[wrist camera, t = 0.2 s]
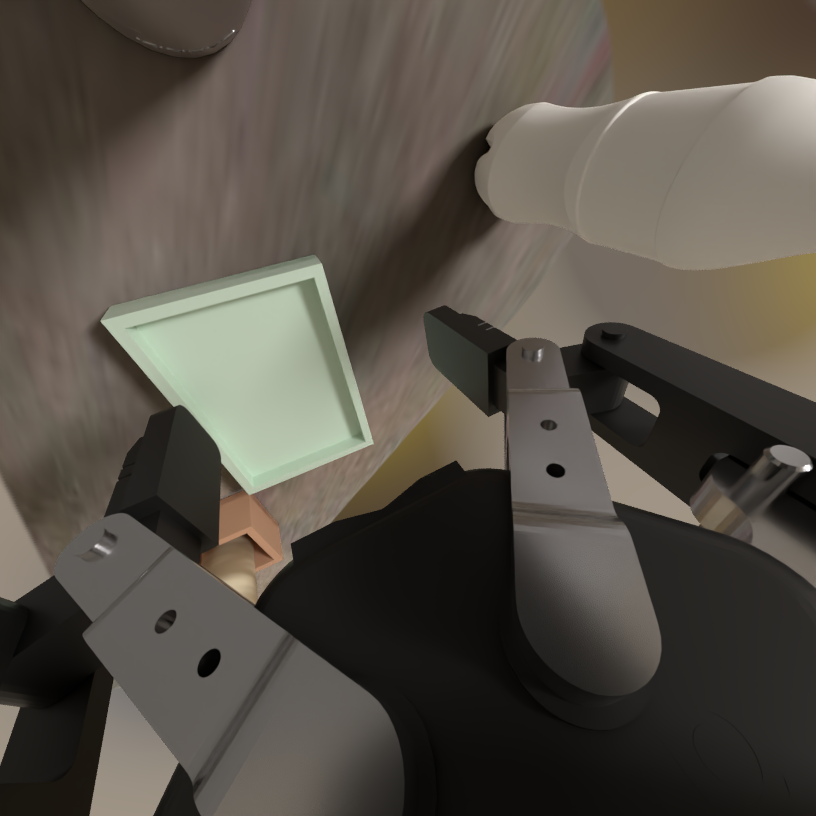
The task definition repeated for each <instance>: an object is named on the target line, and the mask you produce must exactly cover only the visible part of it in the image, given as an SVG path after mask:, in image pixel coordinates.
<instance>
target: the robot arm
mask: <svg viewBox="0 0 816 816" xmlns="http://www.w3.org/2000/svg"><path fill="white" fill-rule="evenodd" d="M81 1H82V2H83V3H84V4H85V5H86V6H87V7H89V8H90V9H91V10H92V11H93V12H94V13H95V14H96V15H97V16H98V17H99V18H101V19H102V20H104V21H105V22H106V23H108V24H109V25H110V26H112V27H113V28H114V29H116V30H117V31H119V32H120V33H121V34H123V35H124V36H125V37H127V38H129V39H131V40H133V41H135V42H137V43H139V44H141V45H143V46H145V47H146V48H148V49H150V50H153V51H156V52H160V53H163V54H166V55H170V56H173V57H185V58H198V57H202V56H206V55H209V54H213V53H215V52H217V51H218V50H220V49H221V48H223V47H224V46H226V45H227V44H229V43H230V42H231V40H232V39H233V38H234V36H235V35H236V34H237V33H238V31H239V30H240V29H241V27H242V25H243V22H244V20H245V17H246V15H247V12H248V10H249V7H250V4H251V0H81ZM424 325H425V332H426V338H427V345H428V351H429V356H430V359H431V361H432V363H433V365H434V366H435V367H436V368H437V369H438V370H439V371H440V372H441V373H442V374H443V375H444V376H445V377H446V378H447V379H448V380H449V381H450V382H452V383H453V384H454V385H455V386H456V387H457V388H458V389H459V390H460V391H461V392H462V393H463V394H464V395H466V396H467V397H468V398H469V399H470V400H471V401H472V402H473V403H474V404H475V405H476V406H477V407H478V408H479V409H480V410H482V411H483V412H484V413H485V414H486V415H487V416H488V417H489V416H491V415H493V414H496V413H498V412H499V411H502V412H503V413H504V459H505V460H504V462H505V463H504V464H505V465H504V466H505V467H504V468H505V469H504V470H502V469H491V468H486V469H473V470H468V471H464V470H463V468H462V467H461V466H460V465H459V464H458V462H457V461H454V462H452V463H450V464H448V465H446V466H444V467H442V468H440V469H438V470H436V471H435V472H432V473H430V474H428V475H426V476H425V477H423V478H420V479H419V480H418V481H416V482H415V483H414V484H413V485H412V486H410V487H409V488H408V489H407V490H405V491H404V492H403V493H402V494H401V495H399V496H398V497H397V498H396V499H395V500H394V501H392V502H391V503H390V504H389V505H387V506H386V507H385V508H383V509H381V510H378V511H374V512H370V513H366V514H363V515H358V516H355V517H351V518H347V519H343V520H339V521H335V522H333V523H331V524H329V525H327V526H325V527H323V528H321V529H319V530H317V531H315V532H313V533H311V534H309V535H307V536H305V537H303V538H301V539H299V540H297V541H295V542H293V543H291V548H292V554H293V560H292V561H291V562H289V563H288V564H287V565H286V566H285V567H284V568H283V569H282V570H281V571H280V572H279V573H278V574H277V575H276V576H275V578H274V579H273V580H272V581H271V582H270V583H269V585H268V586H267V587H266V589H265V590H264V592H263V593H262V594H261V596H260V597H259V599H258V601H257V602H256V604H254V603H253V602H251V601H250V600H249V599H247V598H246V597H245V596H243V595H242V594H240V593H239V592H238V591H236V590H235V589H234V588H232V587H231V586H229V585H228V584H227V583H225V582H224V581H222V580H221V579H220V578H218V577H217V576H216V575H214V574H213V573H211V572H210V571H209V570H207V569H206V568H205V567H203V566H202V565H200V554H202V553H204V552H206V551H208V550H210V549H212V548H214V547H217V546H219V519H220V482H221V454H220V451H219V448H218V446H217V444H216V443H215V441H214V440H213V439H212V438H211V436H210V435H209V434H208V433H207V432H206V430H205V429H204V428H203V427H202V426H201V425H200V423H199V422H198V421H197V420H196V419H195V418H194V416H193V415H192V414H191V413H190V412H189V411H188V410H187V409H186V408H185V407H184V406H182V405H177V406H175V407H172V408H169V409H167V410H164V411H161V412H159V413H156V414H153V415H151V416H150V418H149V421H148V425H147V428H146V431H145V434H144V437H141V438H139V440H138V441H137V442H136V443H135V445H134V446H133V447H132V448H131V449H130V451H129V452H128V453H127V456H126V458H125V461H124V464H123V469H122V470H121V472H120V475H119V478H118V479H119V481H118V482H117V483H116V486H115V489H114V491H113V494H112V497H111V500H110V502H109V505H108V508H107V511H106V513H105V516H104V518H102V519H100V520H98V521H97V522H95V523H93V524H92V525H90V526H89V527H87V528H86V529H85V530H83V531H82V532H81V533H79V534H78V535H77V536H76V537H75V538H74V539H73V540H72V541H71V542H70V543H69V544H68V545H67V546H66V548H65V549H64V550H63V551H62V553H61V554H60V556H59V558H58V559H57V561H56V564H55V567H54V576H52V577H51V578H49V579H48V580H46V581H45V582H43V583H42V584H40V585H39V586H37V587H36V588H34V589H33V590H31V591H30V592H29V593H27V594H25V595H24V596H23V597H21V598H19V599H18V600H16V601H15V602H12V601H10V600H7V599H4V598H1V597H0V704H3V705H9V706H17V707H20V710H19V713H18V716H17V719H16V722H15V724H14V727H13V730H12V733H11V736H10V739H9V742H8V745H7V748H6V751H5V753H4V757H3V759H2V762H1V765H0V816H89V814H90V809H91V803H92V797H93V792H94V786H95V780H96V775H97V769H98V764H99V757H100V752H101V747H102V741H103V735H104V730H105V724H106V718H107V712H108V707H109V701H110V696H111V690H112V684H113V679H115V680H116V682H117V683H118V684H119V685H120V687H121V688H122V689H123V690H124V692H125V693H126V694H127V696H128V697H129V698H130V700H131V701H132V702H133V703H134V705H135V706H136V707H137V708H138V710H139V711H140V712H141V714H142V715H143V716H144V718H145V719H146V720H147V721H148V723H149V724H150V725H151V727H152V728H153V729H154V731H155V732H156V733H157V734H158V736H159V737H160V738H161V740H162V741H163V742H164V743H165V745H166V746H167V747H168V749H169V750H170V751H171V752H172V754H173V755H174V756H175V758H176V759H177V760H178V761H179V763H178V765H177V767H176V769H175V771H174V773H173V775H172V778H171V780H170V782H169V784H168V786H167V788H166V790H165V792H164V795H163V796H162V798H161V801H160V803H159V805H158V807H157V809H156V811H155V813H154V815H153V816H816V402H813V401H811V400H808V399H806V398H804V397H801V396H799V395H796V394H793V393H792V392H789V391H787V390H784V389H782V388H780V387H777V386H775V385H772V384H770V383H767V382H765V381H763V380H760V379H758V378H755V377H753V376H751V375H748V374H746V373H744V372H741V371H739V370H736V369H734V368H732V367H729V366H727V365H724V364H722V363H720V362H717V361H715V360H712V359H710V358H708V357H705V356H703V355H701V354H698V353H696V352H693V351H691V350H689V349H686V348H684V347H681V346H679V345H677V344H674V343H672V342H669V341H667V340H665V339H662V338H660V337H657V336H655V335H652V334H650V333H648V332H645V331H643V330H641V329H638V328H636V327H633V326H630V325H627V324H623V323H611V322H610V323H600V324H596V325H593V326H591V327H589V328H588V329H587V330H586V331H585V334H584V339H583V343H582V344H578V345H573V346H568V347H562V348H559V347H558V346H557V344H555V343H554V342H552V341H550V340H547V339H542V338H525V339H520V340H516V339H514V338H512V337H511V336H509V335H507V334H505V333H504V332H502V331H500V330H499V329H497V328H493V326H492V325H490V324H488V323H485V321H483V320H481V319H479V318H478V317H476V316H472V315H467V314H459V313H457V312H456V311H454V310H452V309H451V308H449V307H447V306H445V305H444V306H441V307H439V308H436V309H433V310H431V311H428V312H425V314H424ZM628 383H631V384H633V385H635V386H636V387H638V388H640V389H642V390H643V391H645V392H647V393H649V394H650V395H652V396H653V397H654V398H655V399H656V400H657V402H658V404H659V406H660V414H659V416H658V417H656V416H655V415H653V414H651V413H650V412H648V411H646V410H645V409H643V408H642V407H640V406H638V405H637V404H635V403H634V402H632V401H630V400H629V399H627V398H625V397H624V394H625V391H626V388H627V385H628ZM592 431H593V432H594V433H596V434H597V435H598V436H600V437H601V438H602V439H603V440H605V441H606V442H607V443H609V444H610V445H611V446H613V447H614V448H615V449H616V450H618V451H619V452H620V453H621V454H623V455H624V456H625V457H627V458H628V459H629V460H630V461H632V462H633V463H634V464H636V465H637V466H638V467H639V468H641V469H642V470H643V471H645V472H646V473H647V474H648V475H650V476H651V477H652V478H654V479H655V480H656V481H657V482H659V483H660V484H661V485H663V486H664V487H665V488H666V489H668V490H669V491H670V492H672V493H673V494H674V495H675V496H677V497H678V498H680V499H681V500H682V501H683V502H684V503H686V504H687V505H688V506H690V507H691V511H692V513H693V515H694V516H695V518H696V519H697V520H698V522H699V523H700V525H699V526H696V525H692V524H689V523H685V522H682V521H679V520H675V519H672V518H668V517H665V516H662V515H658V514H655V513H652V512H648V511H645V510H641V509H638V508H634V507H631V506H628V505H625V504H621V503H618V502H614V501H612V500H611V496H610V493H609V489H608V486H607V482H606V479H605V475H604V472H603V468H602V465H601V461H600V458H599V454H598V451H597V447H596V444H595V440H594V437H593V433H592Z"/></svg>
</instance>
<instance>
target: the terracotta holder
mask: <svg viewBox="0 0 816 816" xmlns="http://www.w3.org/2000/svg"><path fill="white" fill-rule="evenodd" d="M246 533H247V534H248V535H249V536H250V537H251V538H252V539H253V545H254V558H255V570H256V572H258V571H260V570H262V569H264V568H266V567H268V566H270V565H273V564H275V563H277V562H279V561H281V560H283V553H282V547H281V540H280V533H279V526H278V523H277V522H276V521H275V520H274V519H273V517H272V516H271V515H270V514H269V513H268V512H267V510H266V509H265V508H264V507H263V506H262V504H261V503H260V502H259V501H258V500H257V498H256V497H255V496H254V495H253V494H251V495H249V494H248V493H247V492H246V491H245V490H244V491H241V492H239V493H236V494H234V495H231V496H229V497H226V498H224V499H222V500H220V519H219V545H221V544H224V543H226V542H228V541H230V540H233V539H235V538H237V537H239V536H242V535H244V534H246ZM201 561H202V554H200V565H201Z"/></svg>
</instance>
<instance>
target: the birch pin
mask: <svg viewBox="0 0 816 816" xmlns="http://www.w3.org/2000/svg"><path fill="white" fill-rule="evenodd" d="M201 565H202V566H203V567H205V568H206V569H207V570H209V571H210V572H211V573H213V574H214V575H216V576H217V577H218V578H220V579H221V580H222V581H224V582H225V583H227V584H228V585H229V586H231V587H232V588H234V589H235V590H236V591H238V592H239V593H240V594H242V595H243V596H245V597H246V598H247V599H249V600H250V601H251V602H253V603H254V604H256V602H257V601H258V595H257V583H256V570H255V558H254V545H253V539H252V538H251V537H250V536H249V535H248V534H247V533H246V534H244V535H242V536H239V537H237V538H235V539H233V540H230V541H228V542H226V543H224V544H221V545H219V546H217V547H214V548H212V549H210V550H208V551H206V552H204V553H202V561H201Z"/></svg>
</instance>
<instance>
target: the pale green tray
mask: <svg viewBox="0 0 816 816" xmlns="http://www.w3.org/2000/svg"><path fill="white" fill-rule="evenodd" d="M101 322H102V324H103V325H104V326H105V327H106V328H107V329H108V331H109V332H110V333H111V334H112V335H113V336H114V338H115V339H116V340H117V341H118V342H119V343H120V345H121V346H122V347H123V348H124V349H125V350H126V352H127V353H128V354H129V355H130V356H131V357H132V359H133V360H134V361H135V362H136V363H137V365H138V366H139V367H140V368H141V369H142V370H143V372H144V373H145V374H146V375H147V376H148V377H149V379H150V380H151V381H152V382H153V383H154V384H155V386H156V387H157V388H158V389H159V390H160V391H161V393H162V394H163V395H164V396H165V397H166V398H167V400H168V401H169V402H170V403H171V404H172V405H173V407H175V406H177V405H182V406H184V407H185V408H186V409H187V410H188V411H189V412H190V413H191V414H192V415H193V416H194V418H195V419H196V420H197V421H198V422H199V423H200V425H201V426H202V427H203V428H204V429H205V430H206V432H207V433H208V434H209V435H210V436H211V438H212V439H213V440H214V441H215V443H216V444H217V446H218V448H219V451H220V454H221V463H222V464H223V465H224V466H225V468H226V469H227V470H228V471H229V472H230V473H231V475H232V476H233V477H234V478H235V479H236V480H237V482H238V483H239V484H240V485H241V486H242V487H243V489H244V490H245V491H246V492H247V493H248V494H249V495H251V494H253V493H256V492H258V491H261V490H263V489H265V488H268V487H270V486H273V485H275V484H278V483H280V482H282V481H285V480H287V479H290V478H292V477H294V476H297V475H299V474H302V473H304V472H307V471H309V470H311V469H314V468H316V467H319V466H321V465H323V464H326V463H328V462H331V461H333V460H336V459H338V458H340V457H343V456H345V455H348V454H350V453H352V452H355V451H357V450H360V449H362V448H364V447H367V446H369V445H372V444H374V443H373V440H372V436H371V433H370V429H369V426H368V422H367V419H366V415H365V412H364V409H363V405H362V402H361V398H360V395H359V391H358V388H357V384H356V381H355V377H354V374H353V370H352V367H351V363H350V360H349V357H348V353H347V350H346V346H345V343H344V339H343V336H342V332H341V329H340V325H339V322H338V318H337V315H336V312H335V308H334V305H333V301H332V298H331V294H330V291H329V287H328V284H327V280H326V277H325V273H324V270H323V267H322V263H321V262H320V261H319V260H318V258H317V257H316V256H315V255H310V256H306V257H302V258H298V259H294V260H290V261H286V262H283V263H279V264H275V265H271V266H267V267H263V268H259V269H255V270H251V271H247V272H243V273H239V274H235V275H231V276H227V277H223V278H219V279H215V280H211V281H207V282H203V283H199V284H195V285H191V286H187V287H183V288H180V289H176V290H172V291H168V292H164V293H160V294H156V295H152V296H148V297H144V298H140V299H136V300H132V301H128V302H124V303H120V304H116V305H112V306H110V307H109V309H108V310H107V312H106V313H105V315H104V316H103V318H102V319H101Z"/></svg>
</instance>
